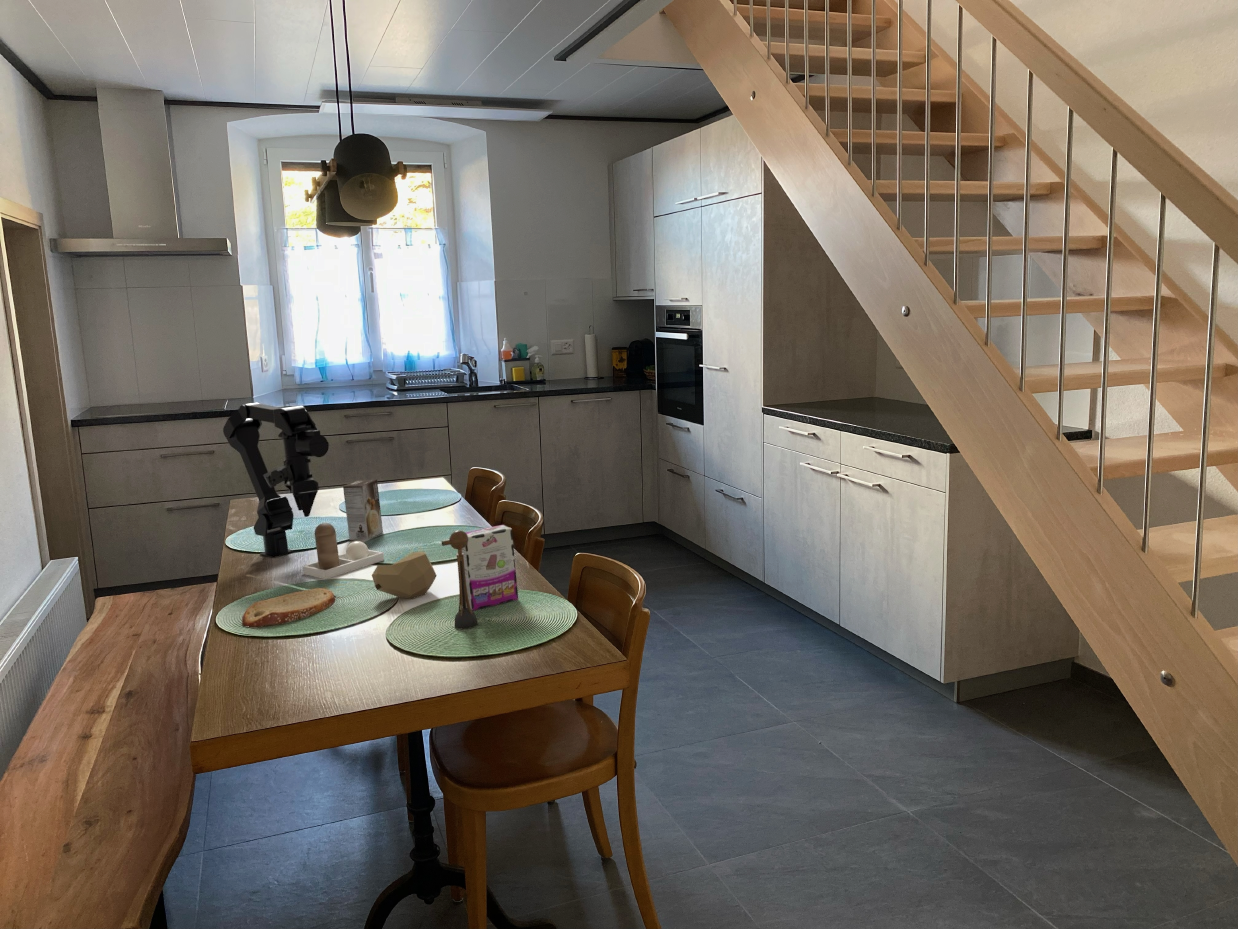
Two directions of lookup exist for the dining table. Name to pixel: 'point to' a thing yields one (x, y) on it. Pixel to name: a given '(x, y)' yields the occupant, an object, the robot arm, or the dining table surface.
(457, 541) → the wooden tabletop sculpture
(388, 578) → the low-poly potato
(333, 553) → the brown domed cylinder
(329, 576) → the white divided tray
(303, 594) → the slice of bread
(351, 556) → the cream white ball
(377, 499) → the coffee box
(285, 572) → the dining table surface
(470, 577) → the candy bar box
